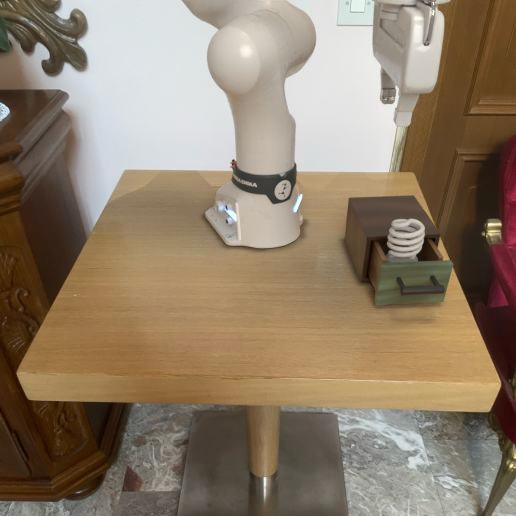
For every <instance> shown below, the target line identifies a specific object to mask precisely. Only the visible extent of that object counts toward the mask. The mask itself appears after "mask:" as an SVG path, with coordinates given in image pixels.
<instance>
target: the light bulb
mask: <svg viewBox="0 0 516 516" xmlns="http://www.w3.org/2000/svg"><path fill="white" fill-rule="evenodd" d="M391 225H392V227H391V228H390V229H389V233H390V234H389V235H388V242H387V246H388V247H389V248H390V249H392V250H395V251H392V250H390V251H389V252H388V254H387V255H386V258H387V263H396V262H418V258H417V257H416V254H417V253H419V252H420V250H421V249H422V244H423V242H424V236H425V232H424V231H425V227H424V225H423V224H422V223H421V222H420V221H418V220H415V219H409V220H406V219H397V220H394V221H393V222H392V223H391ZM409 225H411V226H413V227H415V228H416V229H418V230H416V229H414V228H412V227H408V226H409ZM395 230H405V231H409V232H411V233H406V232H400V231H399V232H396V231H395ZM393 237H397V238H393ZM402 238H409V239H411V240H406V239H402ZM392 243H394V244H397V245H408V246H410V247H399V246H395V245H393V244H392ZM408 251H412V252H408Z"/></svg>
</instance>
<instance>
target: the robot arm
mask: <svg viewBox="0 0 516 516" xmlns="http://www.w3.org/2000/svg"><path fill="white" fill-rule="evenodd" d="M371 1H372V2H373V14H372V15H373V19H372V43H371V45H372V55H373V57H374V59H375V60H376V61H377V62H378V63H379V65H380V70H379V72H380V73H379V74H380V75H379V76H380V92H379V101H380V102H381V104H382V105H393V104H394V103H395V102H396V96H398V98H397V99H398V100H397V105H396V107H394V113H393V122H394V124H395V126H396V127H398V128H403V127H405V128H407V127H409V126H410V125H411V124H412V117H413V112H414V110H415V107H416V105H417V103H418V101H419V98H420V95H423V94H425V95H426V94H431V93H432V92H433V91H434V89H435V87H436V85H437V82H438V76H439V72H440V71H439V70H440V64H441V57H442V51H443V44H444V43H443V42H444V35H445V16H444V14H443V12H442V11H441V10H439V5H444V4H448V3H450V2H451V1H452V0H371ZM181 2H182V3H183V4H184V6H185V7H186V8H187V9H188V10H189V11H190V13H191V14H192V15H193V16H194V17H195V18H197V19H198V20H200V21H202V22H204V23H206V24H208V25H211V26H212V27H213V28H215V29H217V31H216V32H215V33H214V34H213V35H212V37H211V38H210V41H209V43H208V47H207V51H206V62H207V69H208V71H209V74H210V77H211V79H212V80H213V82H214V83H215V84H216V86H217V87H218V88H219V89H220V90H221V91H223V93H224V94H225V97H226V99H227V103H228V105H229V108H230V111H231V115H232V116H231V117H232V121H233V128H234V140H235V159H236V160H235V159H234V158H233V159H231V161H230V162H229V164H230V166H229V168H230V169H231V170H232V173H231V174H232V175H231V179H230V180H228V181H227V182H225V184H223V185H221V186H220V187H219V188H217V190H216V192H215V201H214V203H213V206H211V207H209V208H208V209H207V210H206V211H205V213H204V217H205V218H206V220H207V221H208V222H209V224H210V225H211V226H212V227H213V229H214V231H215V232H216V233H217V234H218V236H219V237H220V239H221V240H222V242H224V243H225V245H227V246H232V247H235V246H239V247H241V246H244V247H250V248H255V249H273V248H279V247H284V246H286V245H289V244H291V243H293V242H294V241H296V240H298V238H299V237H300V234H301V226H302V225H303V223H304V217H303V215H302V214H301V212H300V203H301V201H302V199H303V194H300V193H299V192H300V191H299V187H298V185H297V177H298V170H297V165H298V164H297V163H296V129H297V124H296V119H295V117H294V116H293V114H292V113H291V112H290V111H289V107H288V102H287V98H286V97H287V96H286V90H285V84H286V80H287V78H290V77H292V76H294V75H295V74H297V73H298V72H300V71H301V70H302V69H303V68H304V67H305V66H306V64H307V63H308V61H309V60H310V59H311V57H312V56H313V54H314V52H315V49H316V45H317V32H316V27H315V24H314V21H313V20H312V18H311V17H310V16H309V15H308V13H306V12H305V11H304V10H303V9H301V8H299V7H298V6H295V5H294V4H292V3H291V2H290V1H288V0H181ZM396 87H397V88H398V93H397V89H396Z"/></svg>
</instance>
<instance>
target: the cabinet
mask: <svg viewBox="0 0 516 516" xmlns="http://www.w3.org/2000/svg"><path fill="white" fill-rule="evenodd" d="M346 211H347V212H346V219H345V220H346V221H345V230H344V231H345V232H344V237H343V238H344V239H343V240H344V244H345V246H346V248H347V251H348V253H349V256H350V258H351V261H352V264H353V266H354V269H355V271H356V275H357V276H358V279H359V281H360V283H372V282H371V280H370V277H369V275H368V273H367V266H368V259H369V252H370V245H371V241H372V240H388V235H389V234H390V233H389V229H390V228H391V227H392V225H391V223H392V222H393V221H394V220H397V219H406V220H409V219H415V220H418V221H420V222H421V223H422V224H423V225H424V227H425V231H424V232H425V236H424V238H431V239H432V241H433V242H434V244H435V245H436V247H437V248H438V249H439V243H440V240H441V236H442V235H441V234H442V233H441V232H440V230H439V229H438V227H437V226H436V225H435V224H434V221H433V220H432V219H431V218H430V216H429V215H428V213H427V211H426V210H425V209H424V207H423V206H422V204H421V203H420V201H419V200H418V199H417V198H416V196H415V195H413V194H411V195H385V196H384V195H383V196H360V197H357V196H356V197H348V200H347V209H346ZM408 227H412V228H414V229H416V228H415V227H413V226H411V225H409V226H408ZM416 230H418V229H416ZM395 231H396V232H399V231H400V232H406V233H411V232H409V231H405V230H395ZM393 238H397V237H393ZM402 239H409V238H402Z"/></svg>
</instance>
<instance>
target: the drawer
mask: <svg viewBox="0 0 516 516" xmlns="http://www.w3.org/2000/svg"><path fill="white" fill-rule="evenodd" d="M406 240H411V239H406ZM387 242H388V240H372V241H371V245H370V252H369V259H368V266H367V273H368V275H369V277H370V280H371V282H370V283H371V284H372V287H373V289H374V291H375V294H374V300H373V301H374V304H375V306H387V305H405V304H406V305H407V304H428V303H429V304H430V303H444V301H445V298H446V294H447V290H448V287H449V282H450V279H451V275H452V272H453V268H454V263H453V261H452V260H450V259H446V260H444V255H443V254H442V252H441V251H440V250H439V247H438V248H437V247H436V245H435V244H434V242H433V241H432V239H431V238H424V242H423V244H422V249H421V250H420V252H419V253H417V254H416V257H417V258H418V262H396V263H387V258H386V255H387V254H388V252H389V251H390V250H392V249H390V248H389V247H388V246H387ZM392 244H393V245H395V246H399V247H410V246H408V245H397V244H394V243H392ZM392 251H395V250H392ZM408 252H412V251H408Z"/></svg>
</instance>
